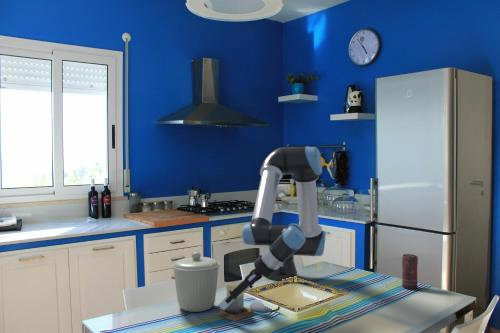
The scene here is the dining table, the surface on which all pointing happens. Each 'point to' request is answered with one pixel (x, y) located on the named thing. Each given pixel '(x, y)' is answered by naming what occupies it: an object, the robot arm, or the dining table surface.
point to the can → (409, 271)
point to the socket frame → (245, 314)
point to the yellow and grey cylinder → (237, 304)
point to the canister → (196, 282)
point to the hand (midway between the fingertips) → (228, 301)
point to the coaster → (259, 307)
